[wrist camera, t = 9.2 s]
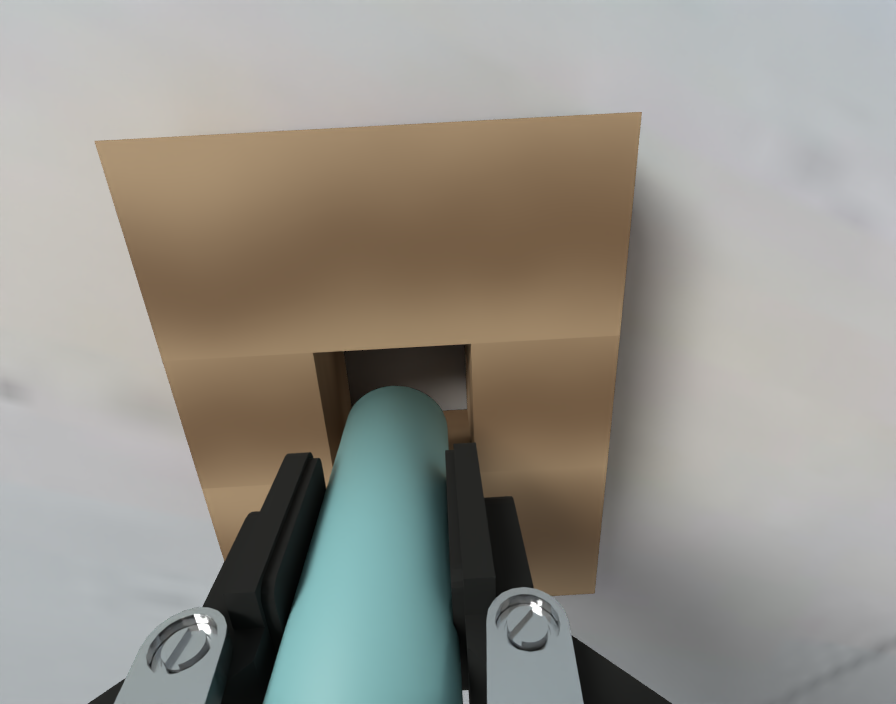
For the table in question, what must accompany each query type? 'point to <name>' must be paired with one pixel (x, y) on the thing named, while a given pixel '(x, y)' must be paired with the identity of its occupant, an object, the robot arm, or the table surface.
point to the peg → (377, 568)
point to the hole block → (392, 298)
